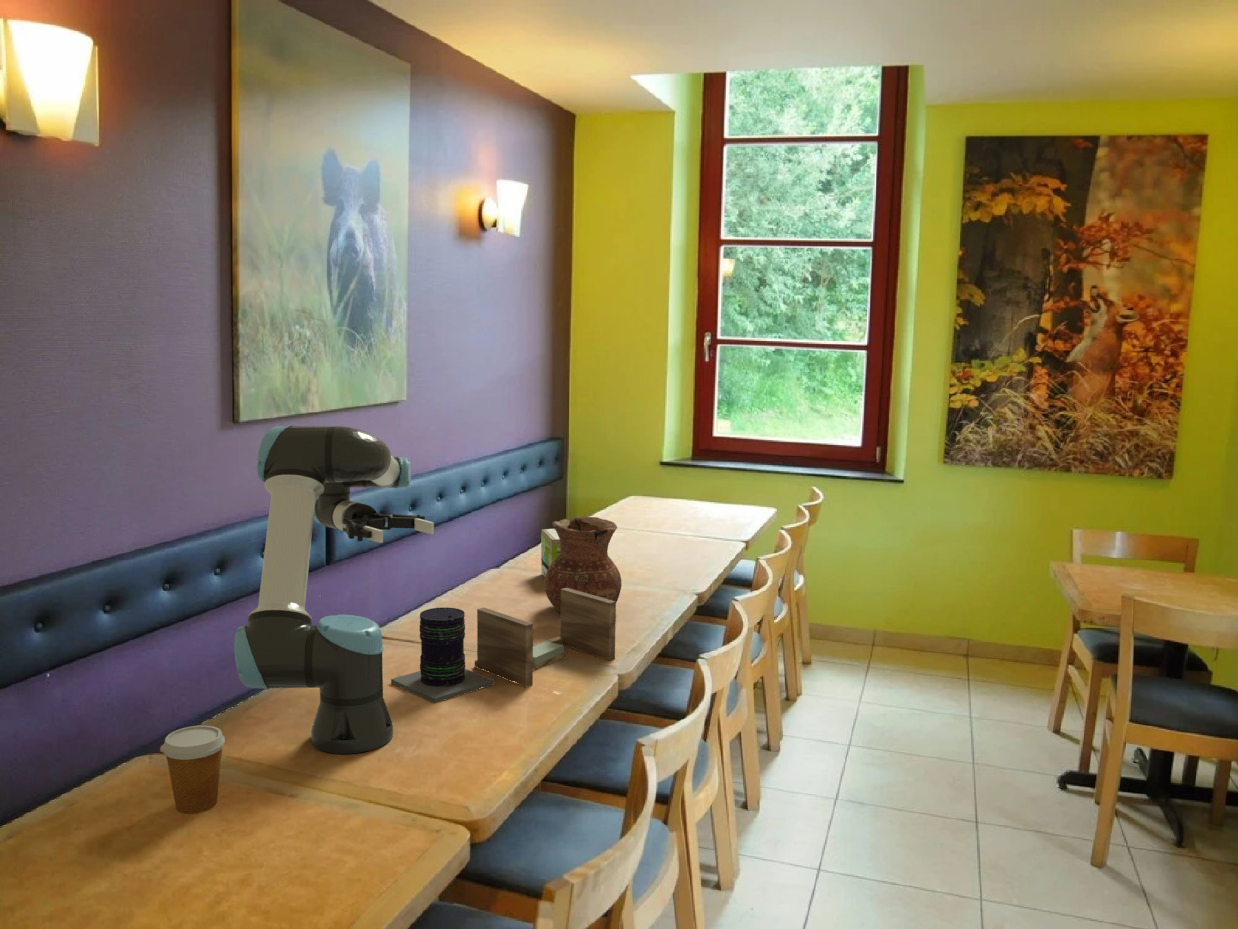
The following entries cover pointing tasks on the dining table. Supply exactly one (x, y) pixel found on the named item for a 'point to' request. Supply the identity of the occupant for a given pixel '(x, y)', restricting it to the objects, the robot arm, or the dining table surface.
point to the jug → (583, 560)
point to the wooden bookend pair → (512, 645)
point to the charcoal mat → (440, 693)
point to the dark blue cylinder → (442, 647)
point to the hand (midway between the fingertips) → (407, 532)
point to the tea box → (549, 548)
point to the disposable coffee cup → (194, 766)
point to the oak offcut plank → (550, 660)
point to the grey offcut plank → (546, 651)
